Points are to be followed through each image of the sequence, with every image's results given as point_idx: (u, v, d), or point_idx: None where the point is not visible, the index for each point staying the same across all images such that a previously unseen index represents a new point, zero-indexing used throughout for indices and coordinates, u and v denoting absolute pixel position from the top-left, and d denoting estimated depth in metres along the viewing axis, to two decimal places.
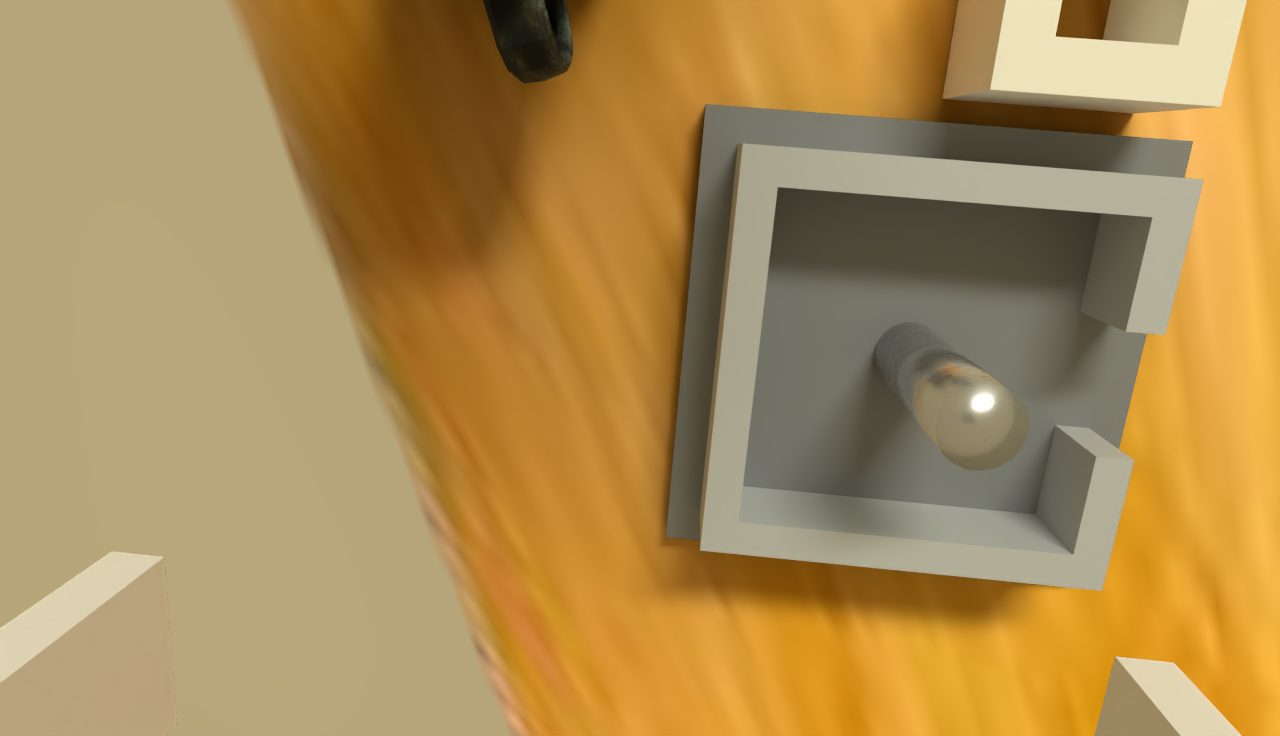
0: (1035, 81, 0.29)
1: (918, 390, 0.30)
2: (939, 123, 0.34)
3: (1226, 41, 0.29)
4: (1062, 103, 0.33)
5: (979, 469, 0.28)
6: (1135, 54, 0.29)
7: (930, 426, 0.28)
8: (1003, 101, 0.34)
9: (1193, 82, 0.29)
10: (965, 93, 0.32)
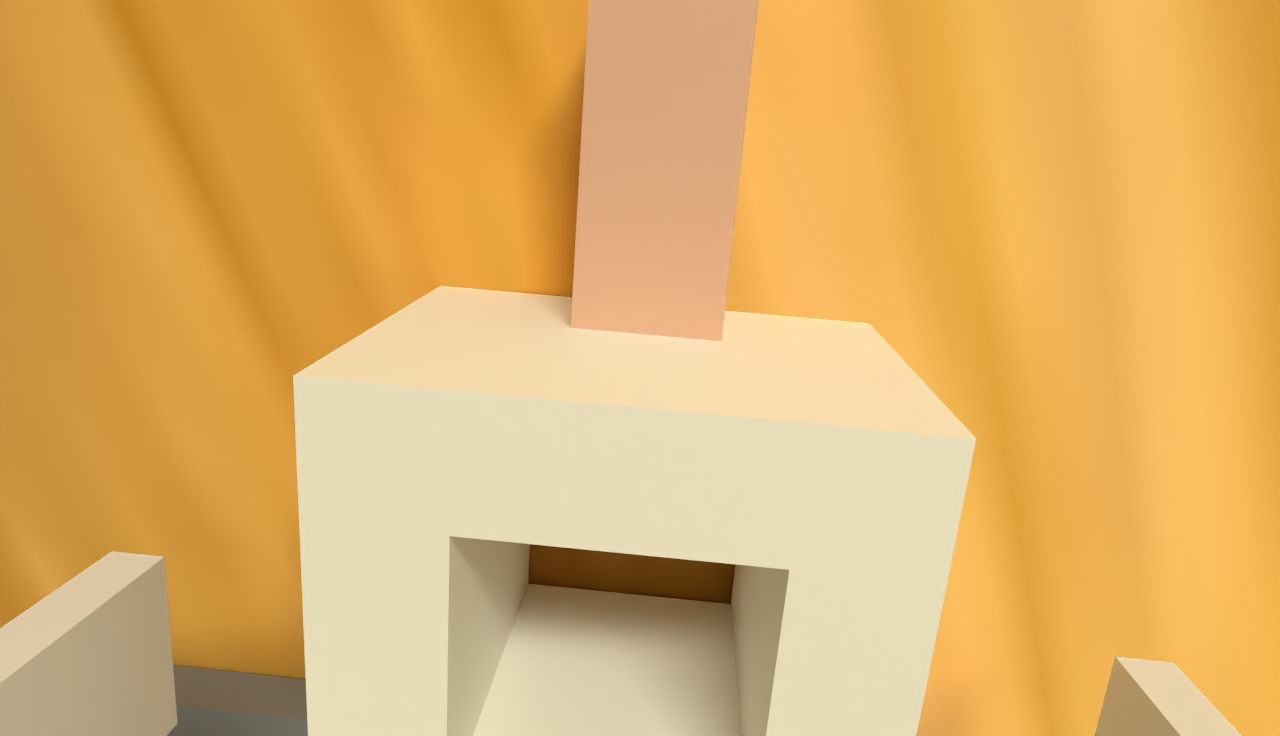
0: None
1: None
2: None
3: None
4: None
5: None
6: None
7: None
8: None
9: None
10: None
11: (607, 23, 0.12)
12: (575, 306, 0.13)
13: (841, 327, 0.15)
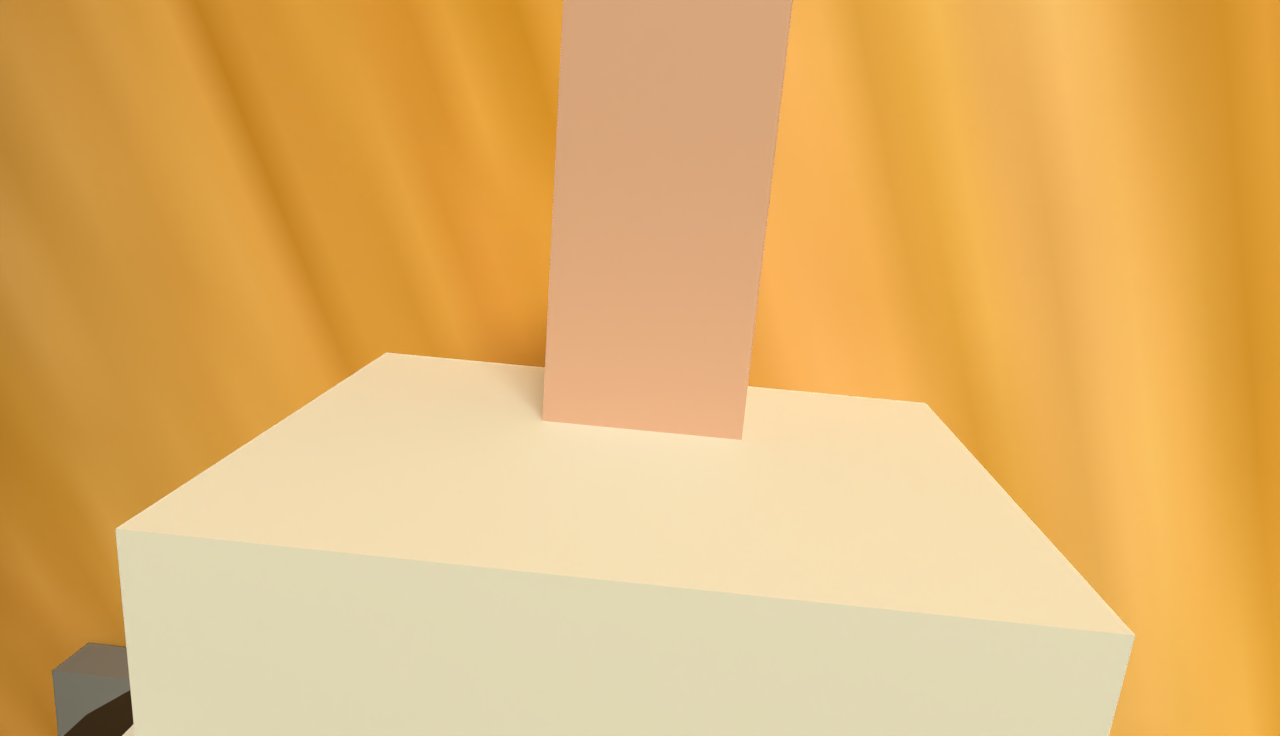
0: None
1: None
2: None
3: None
4: None
5: None
6: None
7: None
8: None
9: None
10: None
11: (591, 21, 0.09)
12: (548, 393, 0.10)
13: (892, 411, 0.12)
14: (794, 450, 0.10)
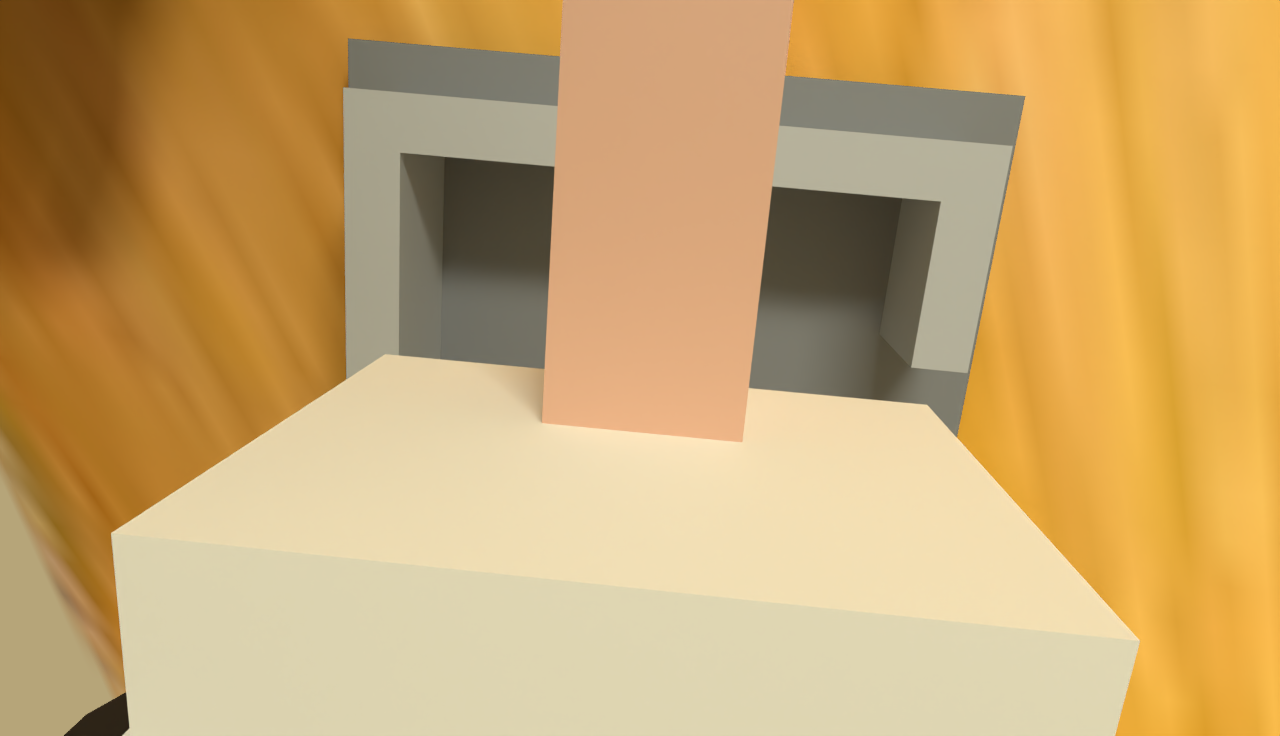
0: None
1: None
2: None
3: None
4: None
5: None
6: None
7: None
8: None
9: None
10: None
11: (589, 22, 0.09)
12: (547, 395, 0.10)
13: (893, 413, 0.11)
14: (795, 452, 0.10)
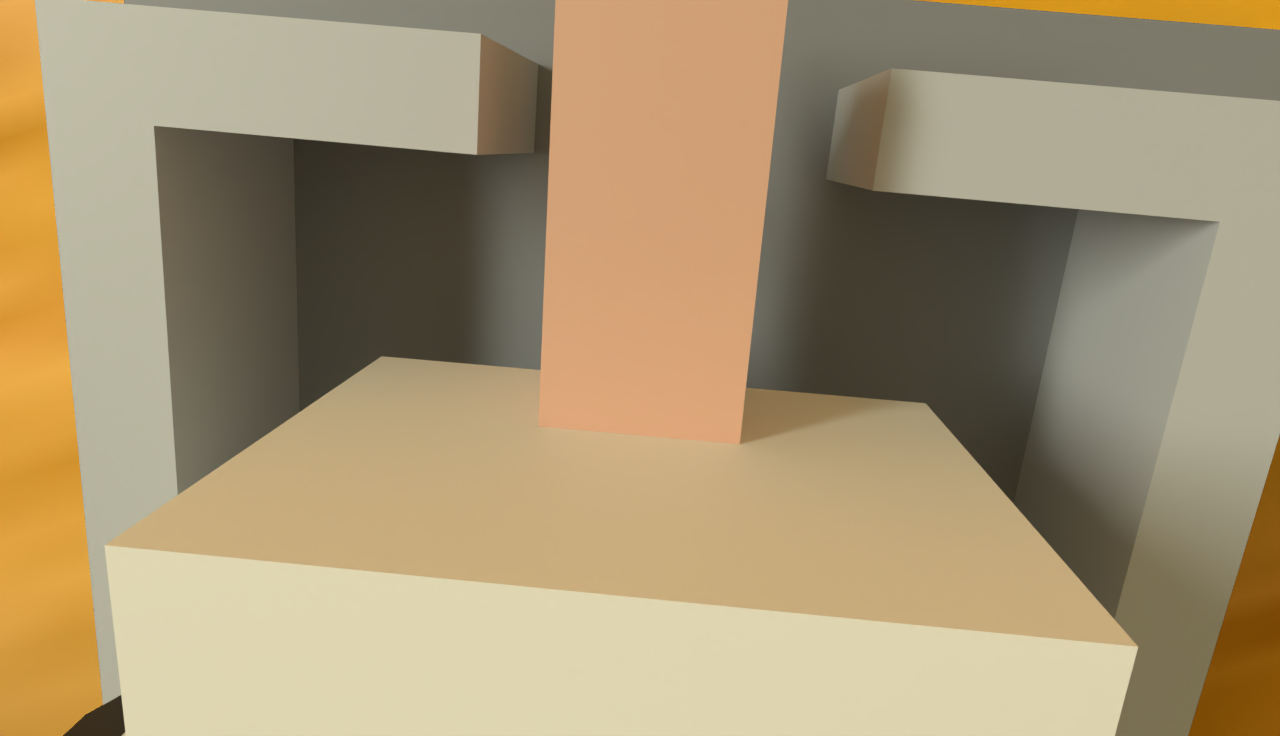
0: None
1: None
2: None
3: None
4: None
5: None
6: None
7: None
8: None
9: None
10: None
11: (582, 23, 0.09)
12: (544, 398, 0.10)
13: (892, 412, 0.11)
14: (793, 454, 0.10)
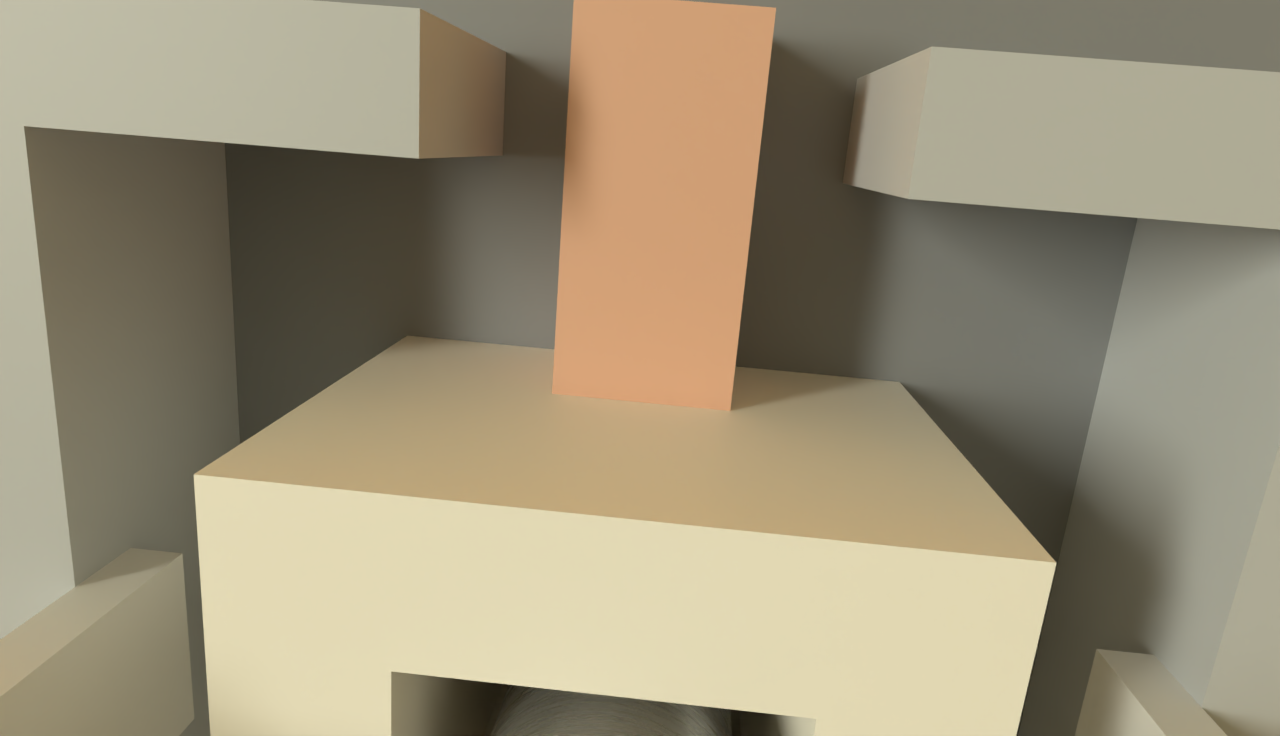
0: None
1: None
2: None
3: None
4: None
5: None
6: None
7: None
8: None
9: None
10: None
11: (596, 38, 0.10)
12: (557, 369, 0.11)
13: (868, 388, 0.13)
14: (777, 419, 0.11)
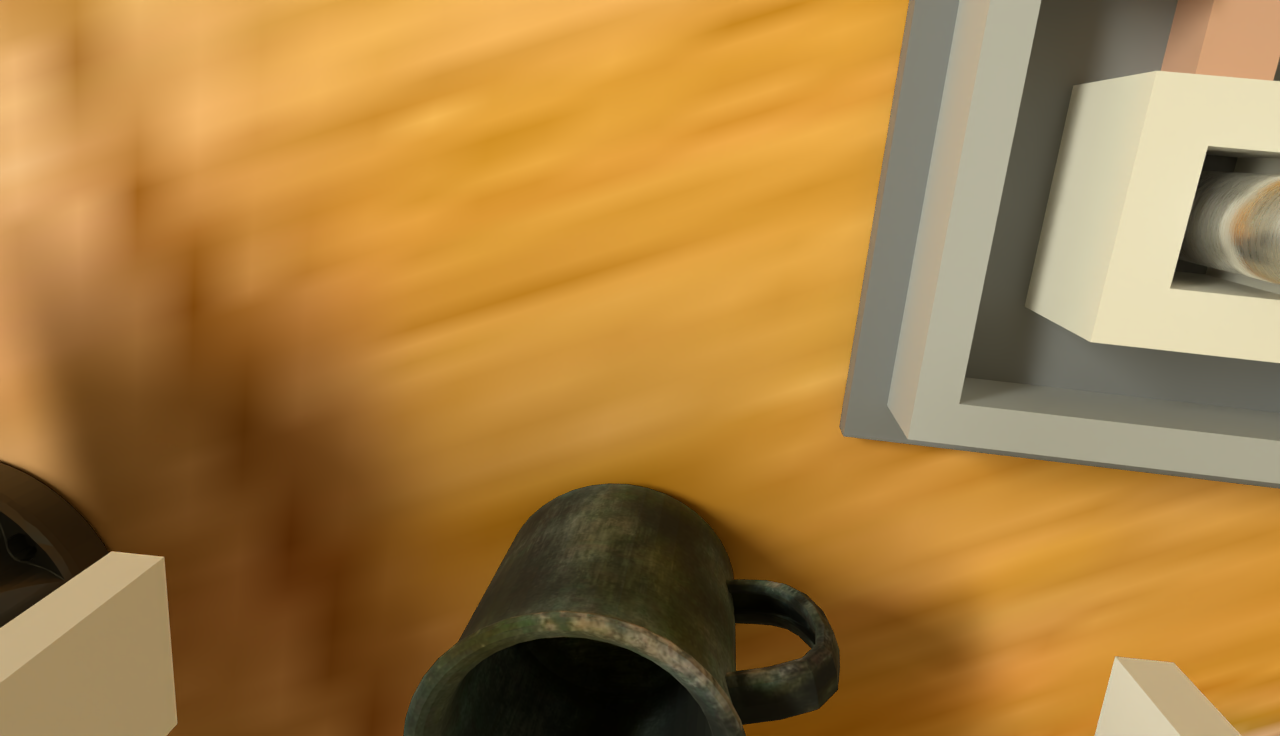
0: (1143, 335, 0.26)
1: (1264, 280, 0.24)
2: (885, 192, 0.31)
3: None
4: None
5: None
6: (1264, 311, 0.25)
7: None
8: None
9: None
10: (1056, 322, 0.29)
11: None
12: None
13: None
14: None
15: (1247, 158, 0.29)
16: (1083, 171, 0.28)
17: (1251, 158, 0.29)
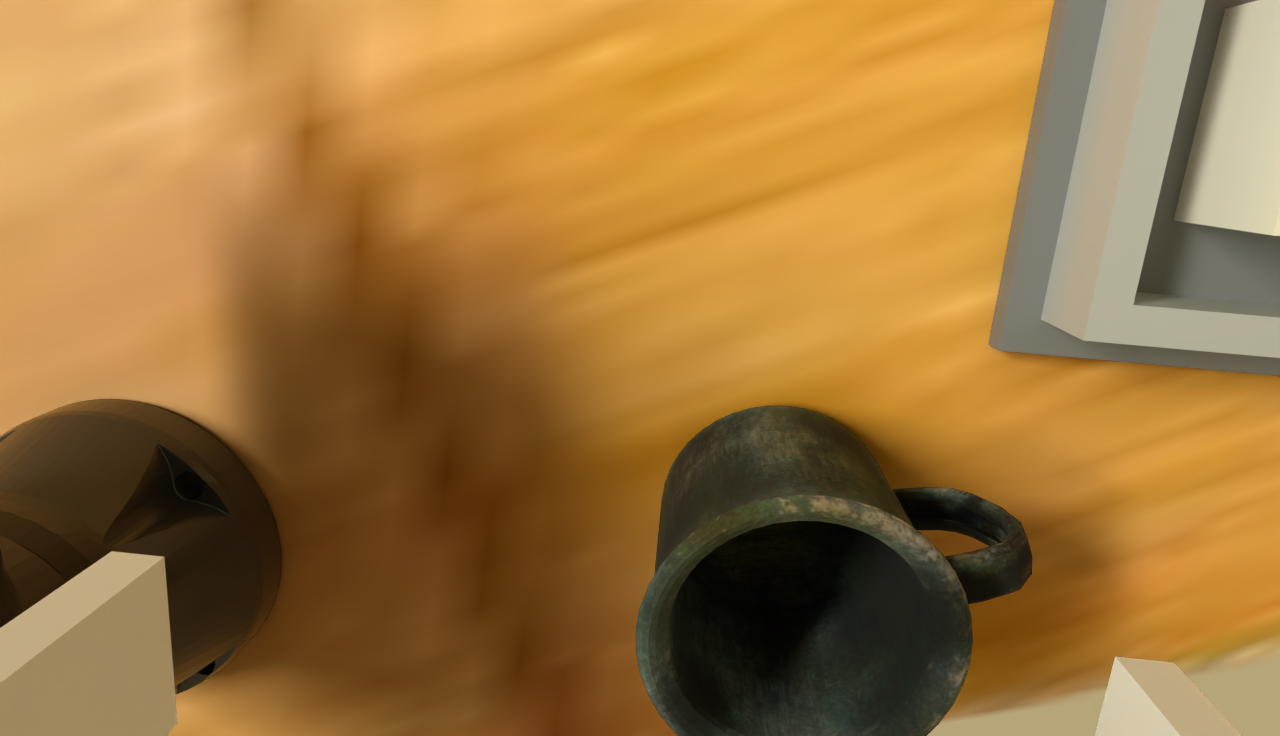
0: None
1: None
2: (1046, 113, 0.33)
3: None
4: None
5: None
6: None
7: None
8: None
9: None
10: (1221, 226, 0.31)
11: None
12: None
13: None
14: None
15: None
16: (1247, 84, 0.30)
17: None
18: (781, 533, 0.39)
